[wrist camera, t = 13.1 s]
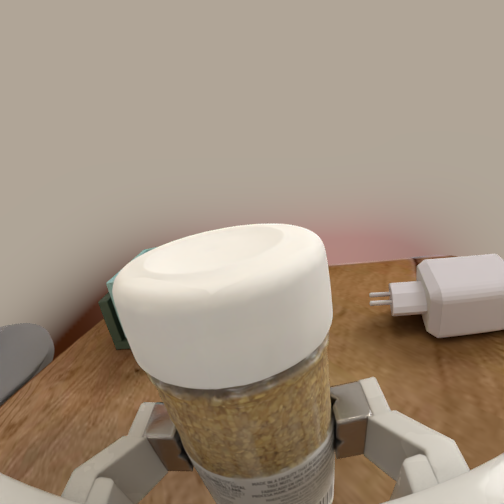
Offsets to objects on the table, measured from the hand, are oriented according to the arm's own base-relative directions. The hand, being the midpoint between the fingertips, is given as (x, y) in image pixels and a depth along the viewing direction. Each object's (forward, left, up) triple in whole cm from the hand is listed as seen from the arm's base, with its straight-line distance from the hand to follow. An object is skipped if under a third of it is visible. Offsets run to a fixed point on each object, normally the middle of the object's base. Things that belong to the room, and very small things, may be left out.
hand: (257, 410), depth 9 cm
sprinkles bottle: (0, -1, -8) cm, 8 cm away
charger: (+17, +17, -10) cm, 26 cm away
